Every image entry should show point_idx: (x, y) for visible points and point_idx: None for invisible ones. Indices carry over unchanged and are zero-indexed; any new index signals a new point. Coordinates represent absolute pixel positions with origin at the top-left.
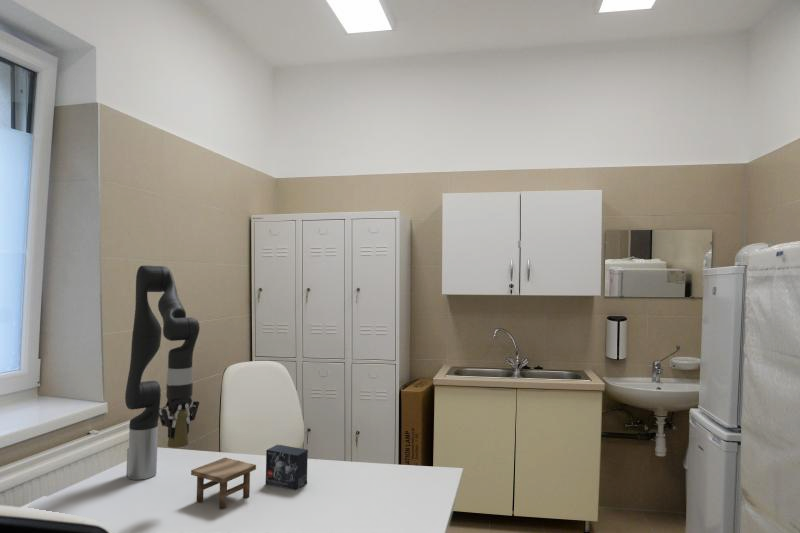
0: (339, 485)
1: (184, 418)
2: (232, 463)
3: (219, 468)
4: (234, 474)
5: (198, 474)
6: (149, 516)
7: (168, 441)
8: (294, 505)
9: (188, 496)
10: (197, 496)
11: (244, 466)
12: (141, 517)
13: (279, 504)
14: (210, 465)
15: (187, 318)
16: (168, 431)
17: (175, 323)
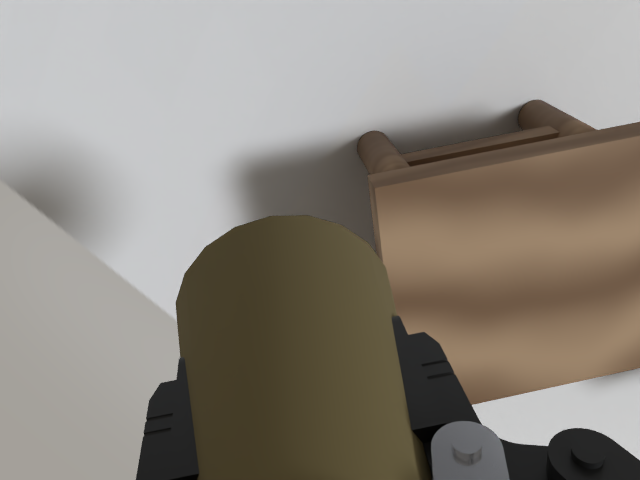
0: None
1: None
2: (605, 265)
3: (499, 285)
4: (480, 400)
5: (378, 246)
6: (101, 127)
7: (181, 325)
8: (553, 427)
9: (375, 38)
10: (363, 160)
11: (596, 348)
12: (63, 107)
13: (534, 392)
14: (509, 200)
15: None
16: (144, 463)
17: None
